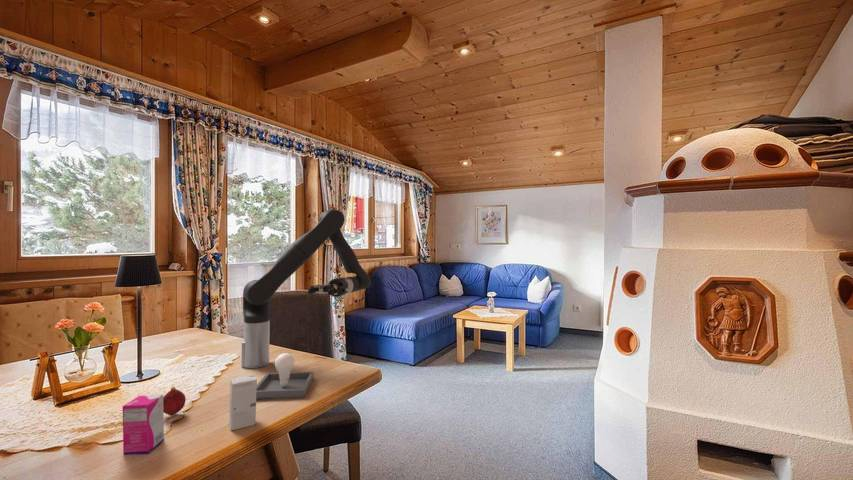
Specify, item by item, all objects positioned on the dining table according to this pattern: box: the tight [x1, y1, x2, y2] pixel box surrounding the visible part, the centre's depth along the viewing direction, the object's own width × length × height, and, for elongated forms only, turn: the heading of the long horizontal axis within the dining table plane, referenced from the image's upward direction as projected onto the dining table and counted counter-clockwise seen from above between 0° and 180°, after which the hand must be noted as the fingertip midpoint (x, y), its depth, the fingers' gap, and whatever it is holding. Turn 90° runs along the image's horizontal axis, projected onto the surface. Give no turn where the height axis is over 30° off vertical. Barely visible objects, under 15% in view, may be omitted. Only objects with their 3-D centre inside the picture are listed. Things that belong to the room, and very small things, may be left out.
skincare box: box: [228, 375, 258, 431], centre depth 97 cm, size 6×4×12 cm
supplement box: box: [122, 394, 165, 456], centre depth 86 cm, size 6×6×12 cm
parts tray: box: [256, 371, 315, 401], centre depth 121 cm, size 16×16×2 cm
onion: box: [163, 386, 186, 417], centre depth 102 cm, size 6×6×8 cm
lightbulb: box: [274, 352, 295, 387], centre depth 121 cm, size 6×6×11 cm
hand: (318, 291), depth 137 cm, fingers open, 8 cm apart
